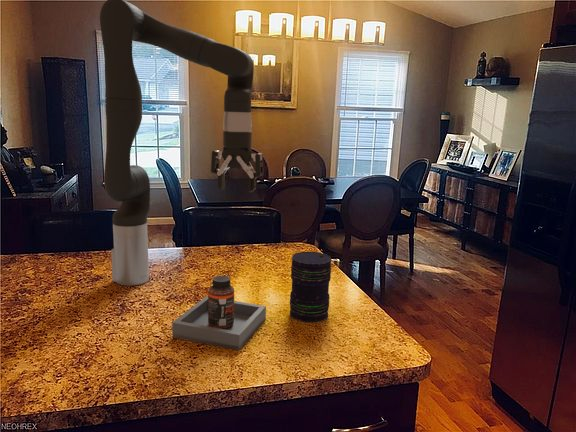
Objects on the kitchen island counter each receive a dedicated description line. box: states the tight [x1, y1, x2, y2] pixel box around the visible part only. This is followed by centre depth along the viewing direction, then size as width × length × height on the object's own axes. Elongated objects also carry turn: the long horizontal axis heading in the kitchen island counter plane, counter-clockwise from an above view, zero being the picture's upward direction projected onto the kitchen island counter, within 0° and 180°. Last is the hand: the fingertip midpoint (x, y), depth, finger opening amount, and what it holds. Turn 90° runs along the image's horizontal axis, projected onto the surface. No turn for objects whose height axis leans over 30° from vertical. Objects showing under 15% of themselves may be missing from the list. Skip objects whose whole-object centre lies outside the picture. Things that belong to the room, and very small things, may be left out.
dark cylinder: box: [289, 251, 332, 324], centre depth 116 cm, size 10×10×15 cm
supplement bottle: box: [207, 275, 235, 329], centre depth 107 cm, size 6×6×11 cm
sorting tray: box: [171, 295, 267, 351], centre depth 108 cm, size 16×16×4 cm
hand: (236, 190), depth 127 cm, fingers open, 8 cm apart
